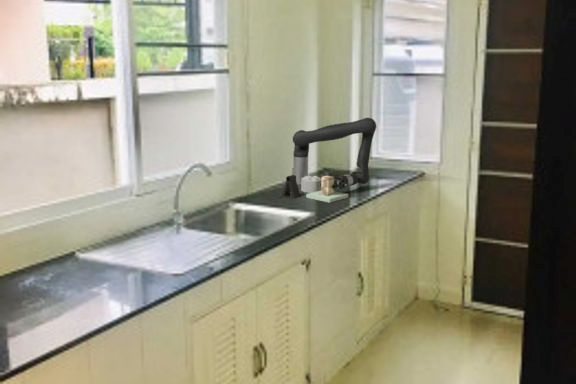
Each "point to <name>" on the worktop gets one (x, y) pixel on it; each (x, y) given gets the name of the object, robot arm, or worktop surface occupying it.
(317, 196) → the pocket frame
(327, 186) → the birch block
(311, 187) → the lumpy-topped squat cylinder
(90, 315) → the worktop surface
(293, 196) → the phone stand
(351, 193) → the worktop surface
